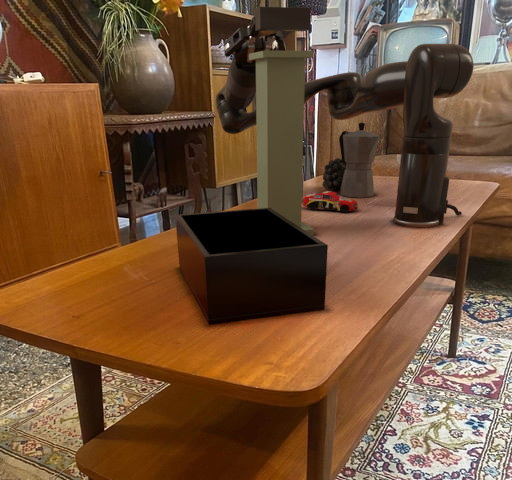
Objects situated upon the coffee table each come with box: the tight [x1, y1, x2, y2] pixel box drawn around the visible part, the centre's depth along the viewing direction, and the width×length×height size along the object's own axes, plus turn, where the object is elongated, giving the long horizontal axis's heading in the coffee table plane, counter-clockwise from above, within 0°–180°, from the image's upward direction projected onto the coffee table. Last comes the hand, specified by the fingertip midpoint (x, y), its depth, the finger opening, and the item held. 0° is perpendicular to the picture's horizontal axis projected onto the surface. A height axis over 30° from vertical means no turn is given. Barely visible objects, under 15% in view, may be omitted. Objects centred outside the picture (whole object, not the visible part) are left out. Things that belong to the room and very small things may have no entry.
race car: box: [302, 190, 359, 214], centre depth 123 cm, size 13×5×4 cm, turn 63°
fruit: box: [321, 157, 346, 192], centre depth 144 cm, size 9×8×15 cm
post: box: [249, 50, 315, 236], centre depth 99 cm, size 11×11×32 cm
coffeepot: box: [338, 122, 381, 199], centre depth 137 cm, size 15×9×18 cm, turn 28°
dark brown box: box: [254, 6, 312, 38], centre depth 94 cm, size 16×9×3 cm, turn 16°
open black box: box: [174, 208, 329, 326], centre depth 74 cm, size 24×16×9 cm, turn 16°
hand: (267, 18), depth 95 cm, fingers closed on dark brown box, 2 cm apart
